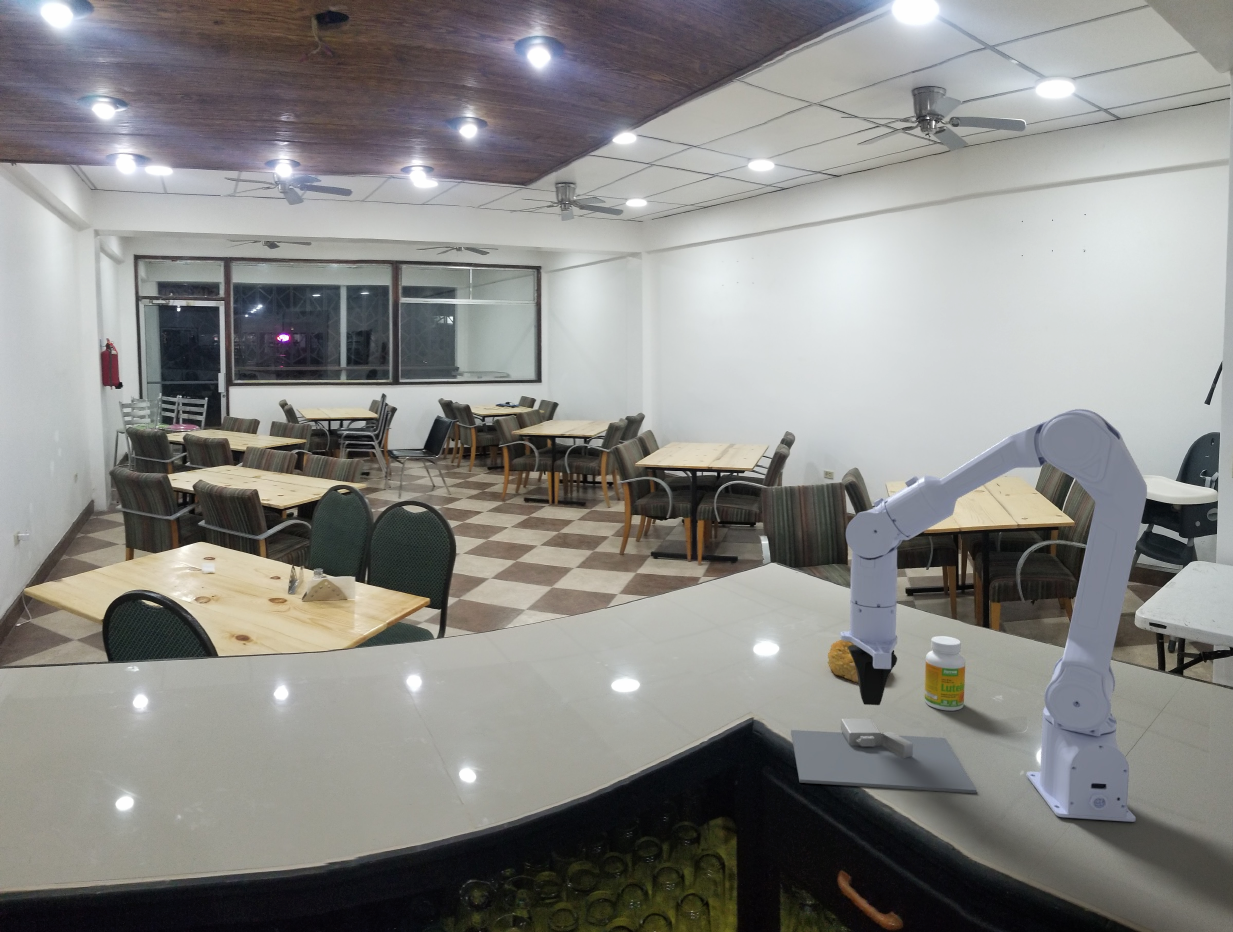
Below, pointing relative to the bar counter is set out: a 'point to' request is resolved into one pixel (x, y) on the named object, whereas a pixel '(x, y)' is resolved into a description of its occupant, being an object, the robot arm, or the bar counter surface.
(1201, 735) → the bar counter surface
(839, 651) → the bagel
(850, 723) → the lighter
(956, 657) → the supplement bottle
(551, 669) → the bar counter surface
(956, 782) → the mat
